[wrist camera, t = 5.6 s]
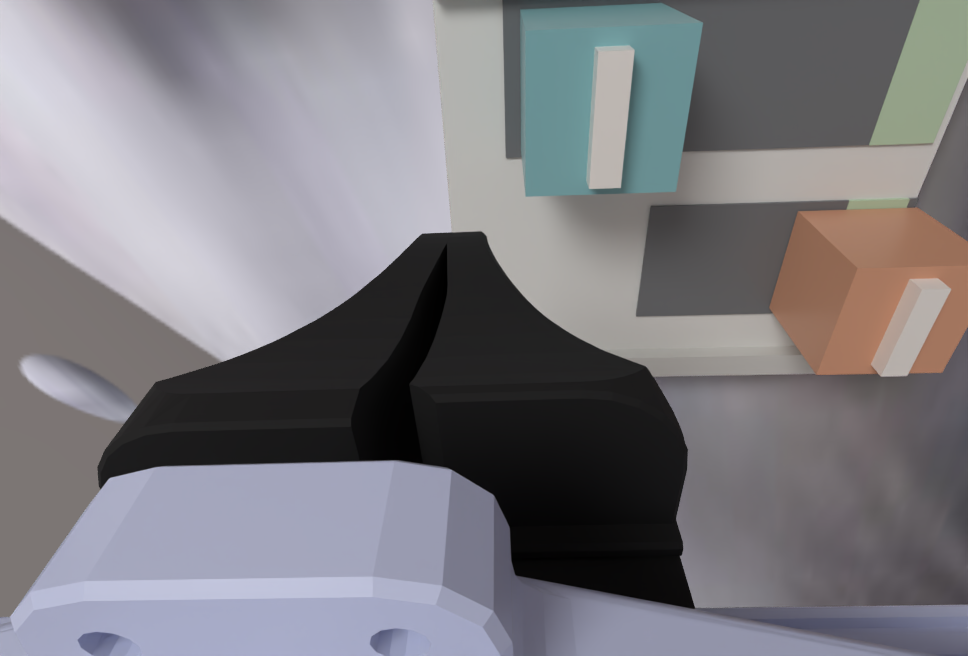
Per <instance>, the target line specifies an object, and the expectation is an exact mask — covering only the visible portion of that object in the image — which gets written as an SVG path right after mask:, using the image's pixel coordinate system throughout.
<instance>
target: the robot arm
mask: <svg viewBox="0 0 968 656" xmlns="http://www.w3.org/2000/svg"><path fill="white" fill-rule="evenodd" d="M687 452H688V449H687V447H686V444H685V441H684V437H683V434H682V431H681V428H680V426H679V423H678V421H677V419H676V417H675V414H674V412H673V410H672V408H671V407H670V405H669V403H668V401H667V399H666V398H665V396H664V394H663V392H662V391H661V389H660V387H659V386H658V384H657V382H656V381H655V379H654V377H653V376H652V374H651V373H650V371H649V370H648V368H647V367H646V366H644V365H641V364H638V363H636V362H633V361H630V360H628V359H625V358H622V357H620V356H617V355H614V354H611V353H609V352H606V351H604V350H602V349H599V348H597V347H595V346H593V345H591V344H589V343H587V342H585V341H583V340H581V339H579V338H578V337H576V336H574V335H573V334H571V333H569V332H567V331H566V330H564V329H563V328H561V327H560V326H558V325H557V324H555V323H554V322H552V321H551V320H550V319H548V318H547V317H545V316H544V315H543V314H542V313H541V312H540V311H538V310H537V309H536V308H535V307H534V306H533V305H532V304H531V303H530V302H529V301H528V300H527V299H526V298H525V297H524V296H523V295H522V294H521V292H520V291H519V290H518V289H517V288H516V287H515V285H514V284H513V283H512V282H511V280H510V279H509V278H508V276H507V275H506V274H505V272H504V271H503V269H502V268H501V266H500V265H499V263H498V261H497V260H496V258H495V256H494V254H493V253H492V251H491V249H490V246H489V244H488V240H487V236H486V235H485V234H484V233H483V232H482V231H475V232H452V233H429V234H421V235H420V236H419V237H418V238H417V239H416V240H415V241H414V242H413V243H412V244H411V245H410V246H409V247H408V248H407V249H406V250H405V251H404V252H403V253H402V254H401V255H400V256H399V257H398V258H397V259H396V260H395V261H394V262H392V263H391V264H390V265H389V266H388V267H387V268H386V269H385V270H384V271H383V272H382V273H381V274H379V275H378V276H377V277H376V278H375V279H373V280H372V281H371V282H370V283H368V284H367V285H366V286H365V287H364V288H362V289H361V290H360V291H359V292H358V293H356V294H355V295H354V296H352V297H351V298H350V299H348V300H347V301H345V302H344V303H342V304H341V305H340V306H338V307H336V308H335V309H333V310H332V311H330V312H329V313H327V314H325V315H324V316H322V317H321V318H319V319H317V320H315V321H314V322H312V323H310V324H308V325H306V326H304V327H302V328H300V329H298V330H296V331H294V332H292V333H290V334H288V335H287V336H285V337H283V338H281V339H279V340H276V341H274V342H272V343H270V344H267V345H265V346H263V347H260V348H258V349H256V350H253V351H251V352H248V353H245V354H243V355H240V356H238V357H235V358H232V359H230V360H227V361H224V362H221V363H218V364H215V365H212V366H209V367H206V368H203V369H199V370H196V371H193V372H189V373H186V374H182V375H179V376H176V377H173V378H169V379H166V380H162V381H158V382H156V383H155V384H154V385H153V387H152V388H151V389H150V390H149V392H148V393H147V394H146V396H145V397H144V398H143V400H142V401H141V402H140V404H139V405H138V406H137V408H136V409H135V410H134V412H133V413H132V414H131V416H130V417H129V418H128V420H127V421H126V422H125V424H124V425H123V426H122V428H121V429H120V431H119V432H118V433H117V434H116V436H115V437H114V439H113V440H112V441H111V442H110V444H109V445H108V447H107V448H106V449H105V451H104V453H103V455H102V458H101V461H100V463H99V465H98V480H99V487H100V489H101V490H100V491H99V492H98V494H97V495H96V496H95V498H94V499H93V500H92V501H91V503H90V504H89V505H88V507H87V508H86V510H85V511H84V513H83V514H82V515H81V517H80V518H79V520H78V521H77V523H76V524H75V525H74V527H73V528H72V530H71V531H70V533H69V534H68V535H67V537H66V538H65V539H64V541H63V542H62V544H61V545H60V547H59V548H58V549H57V551H56V552H55V554H54V555H53V557H52V558H51V559H50V561H49V562H48V564H47V565H46V567H45V568H44V569H43V571H42V572H41V574H40V575H39V576H38V578H37V579H36V581H35V582H34V584H33V585H32V586H31V588H30V589H29V591H28V592H27V594H26V595H25V597H24V598H23V599H22V601H21V602H20V604H19V605H18V606H17V608H16V609H15V611H14V612H13V613H12V615H11V616H10V617H0V656H968V605H898V606H820V607H743V608H695V607H694V603H693V600H692V597H691V593H690V590H689V586H688V583H687V579H686V576H685V573H684V569H683V566H682V562H681V559H680V556H681V555H682V552H683V541H682V538H681V535H680V532H679V528H678V525H677V522H676V515H677V511H678V507H679V502H680V498H681V493H682V489H683V485H684V480H685V476H686V471H687Z"/></svg>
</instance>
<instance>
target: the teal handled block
mask: <svg viewBox="0 0 968 656" xmlns="http://www.w3.org/2000/svg"><path fill="white" fill-rule="evenodd" d="M702 27H703V22H701V21H699V20H696V19H694V18H692V17H690V16H688V15H686V14H684V13H682V12H680V11H678V10H676V9H673V8H671V7H669V6H667V5H665V4H663V3H647V4H626V5H604V6H582V7H561V8H539V9H520V83H521V156H522V166H523V176H524V187H525V197H532V196H563V195H594V194H625V193H656V192H676V188H677V182H678V176H679V170H680V163H681V157H682V151H683V145H684V139H685V132H686V126H687V120H688V114H689V108H690V101H691V95H692V89H693V83H694V76H695V70H696V64H697V58H698V52H699V45H700V39H701V33H702Z"/></svg>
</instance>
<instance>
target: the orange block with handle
mask: <svg viewBox="0 0 968 656" xmlns="http://www.w3.org/2000/svg"><path fill="white" fill-rule="evenodd" d="M769 308H770V310H771V311H772V313H773V314H774V316H775V317H776V318H777V320H778V321H779V323H780V324H781V325H782V327H783V328H784V330H785V331H786V333H787V334H788V335H789V337H790V338H791V340H792V341H793V342H794V344H795V345H796V347H797V348H798V350H799V351H800V352H801V354H802V355H803V357H804V358H805V359H806V361H807V362H808V364H809V365H810V367H811V368H812V369H813V371H814V372H815V374H816V375H839V374H879V375H880V376H881V377H885V376H907V375H908V373H942V372H943V370H944V368H945V367H946V365H947V363H948V361H949V359H950V358H951V356H952V354H953V352H954V350H955V348H956V347H957V345H958V343H959V341H960V339H961V338H962V336H963V334H964V332H965V330H966V329H967V327H968V241H966V240H965V239H963V238H962V237H960V236H959V235H957V234H956V233H954V232H953V231H951V230H950V229H948V228H947V227H945V226H944V225H942V224H941V223H940V222H938V221H937V220H935V219H934V218H932V217H931V216H929V215H928V214H926V213H925V212H923V211H922V210H920V209H919V208H886V209H853V210H820V211H798V213H797V216H796V219H795V223H794V226H793V229H792V233H791V236H790V239H789V243H788V246H787V250H786V253H785V256H784V260H783V263H782V266H781V270H780V273H779V276H778V280H777V283H776V286H775V290H774V293H773V297H772V300H771V303H770V307H769Z"/></svg>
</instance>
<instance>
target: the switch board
mask: <svg viewBox="0 0 968 656" xmlns="http://www.w3.org/2000/svg"><path fill="white" fill-rule="evenodd" d="M647 3H663V4H665V5H667V6H669V7H671V8H673V9H676V10H678V11H680V12H682V13H684V14H686V15H688V16H690V17H692V18H694V19H696V20H699V21H701V22H703V27H702V33H701V39H700V45H699V52H698V58H697V64H696V70H695V76H694V83H693V89H692V95H691V101H690V108H689V114H688V120H687V126H686V132H685V139H684V145H683V151H682V157H681V163H680V170H679V176H678V182H677V188H676V192H656V193H625V194H594V195H563V196H532V197H525V187H524V176H523V166H522V156H521V83H520V9H539V8H561V7H582V6H604V5H626V4H647ZM433 11H434V23H435V35H436V47H437V59H438V71H439V83H440V95H441V107H442V119H443V131H444V143H445V155H446V168H447V180H448V192H449V204H450V216H451V228H452V232H475V231H482V232H483V233H484V234H485V235H486V236H487V240H488V244H489V246H490V249H491V251H492V253H493V254H494V256H495V258H496V260H497V261H498V263H499V265H500V266H501V268H502V269H503V271H504V272H505V274H506V275H507V276H508V278H509V279H510V280H511V282H512V283H513V284H514V285H515V287H516V288H517V289H518V290H519V291H520V292H521V294H522V295H523V296H524V297H525V298H526V299H527V300H528V301H529V302H530V303H531V304H532V305H533V306H534V307H535V308H536V309H537V310H538V311H540V312H541V313H542V314H543V315H544V316H545V317H547V318H548V319H550V320H551V321H552V322H554V323H555V324H557V325H558V326H560V327H561V328H563V329H564V330H566V331H567V332H569V333H571V334H573V335H574V336H576V337H578V338H579V339H581V340H583V341H585V342H587V343H589V344H591V345H593V346H595V347H597V348H599V349H602V350H604V351H606V352H609V353H611V354H614V355H617V356H620V357H622V358H625V359H628V360H630V361H633V362H636V363H638V364H641V365H644V366H646V367H647V368H648V370H649V371H650V373H651V374H652V376H653V377H670V376H724V375H778V374H815V372H814V371H813V369H812V368H811V367H810V365H809V364H808V362H807V361H806V359H805V358H804V357H803V355H802V354H801V352H800V351H799V350H798V348H797V347H796V345H795V344H794V342H793V341H792V340H791V338H790V337H789V335H788V334H787V333H786V331H785V330H784V328H783V327H782V325H781V324H780V323H779V321H778V320H777V318H776V317H775V316H774V314H773V313H772V311H771V310H770V308H769V307H770V303H771V300H772V297H773V293H774V290H775V286H776V283H777V280H778V276H779V273H780V270H781V266H782V263H783V260H784V256H785V253H786V250H787V246H788V243H789V239H790V236H791V233H792V229H793V226H794V223H795V219H796V216H797V213H798V211H820V210H853V209H886V208H915V206H916V204H917V202H918V198H917V196H918V194H919V192H920V189H921V187H922V185H923V182H924V180H925V177H926V175H927V173H928V170H929V168H930V166H931V163H932V161H933V158H934V156H935V154H936V151H937V149H938V147H939V144H940V142H941V140H942V137H943V135H944V132H945V130H946V128H947V125H948V123H949V121H950V118H951V116H952V113H953V111H954V109H955V106H956V104H957V102H958V99H959V97H960V95H961V92H962V90H963V87H964V85H965V83H966V80H967V78H968V0H433Z"/></svg>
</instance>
